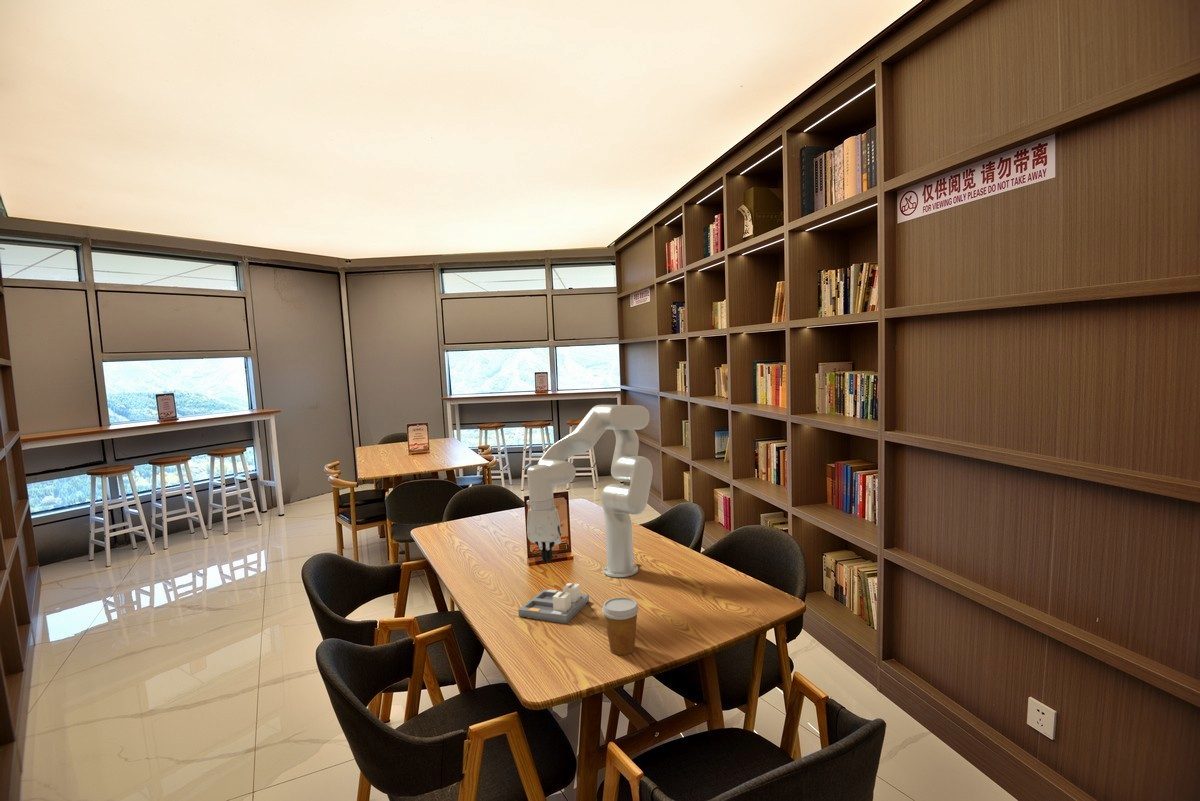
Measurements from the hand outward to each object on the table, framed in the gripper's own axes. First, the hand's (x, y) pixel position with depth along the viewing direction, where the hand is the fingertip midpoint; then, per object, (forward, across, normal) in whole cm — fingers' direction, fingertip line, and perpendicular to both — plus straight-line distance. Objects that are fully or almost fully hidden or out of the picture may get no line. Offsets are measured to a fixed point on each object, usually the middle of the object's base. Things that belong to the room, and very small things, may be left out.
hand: (547, 560), depth 174 cm
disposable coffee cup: (+13, +32, -22) cm, 41 cm away
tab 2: (+12, +8, -2) cm, 15 cm away
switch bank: (+13, +4, -5) cm, 14 cm away
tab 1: (+12, +8, -9) cm, 17 cm away
